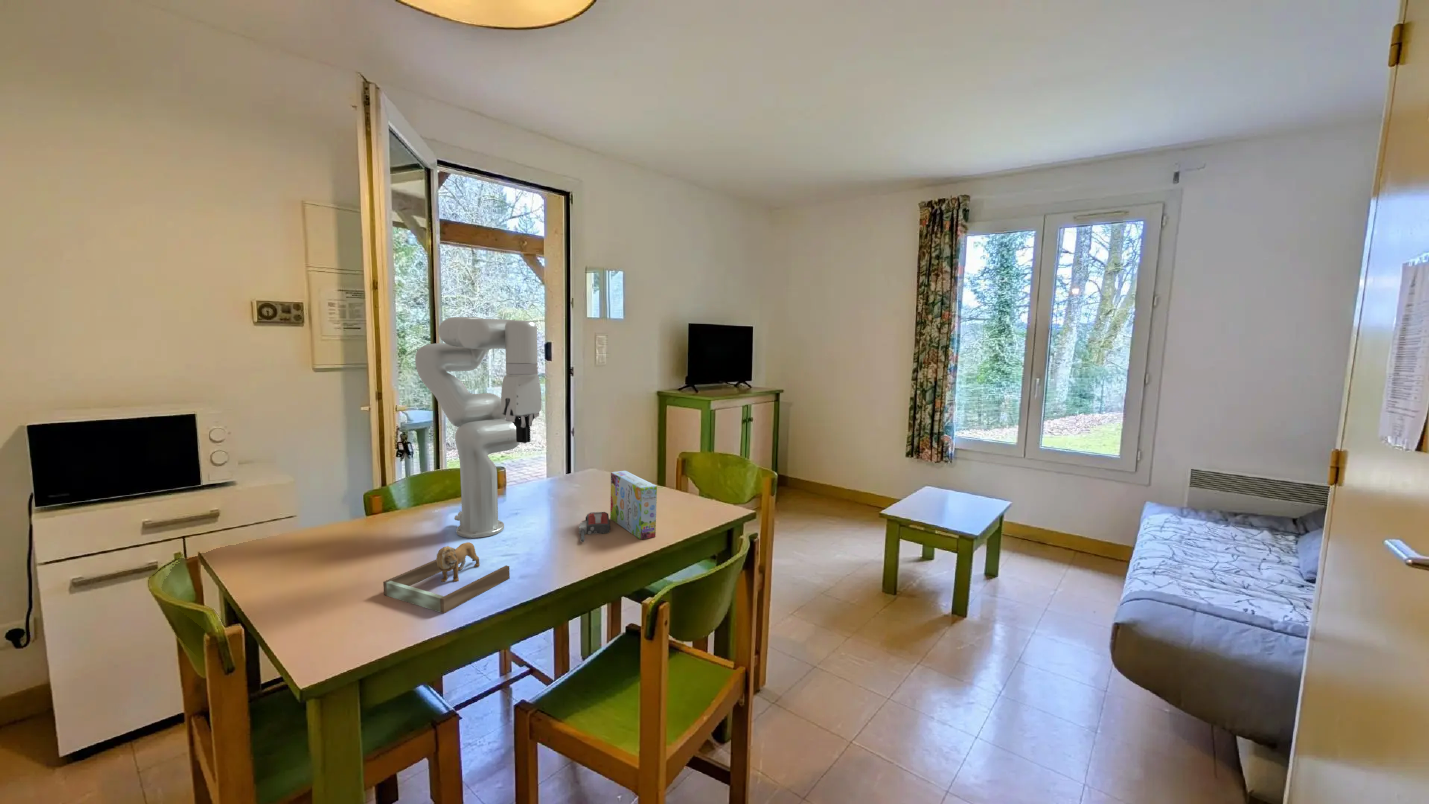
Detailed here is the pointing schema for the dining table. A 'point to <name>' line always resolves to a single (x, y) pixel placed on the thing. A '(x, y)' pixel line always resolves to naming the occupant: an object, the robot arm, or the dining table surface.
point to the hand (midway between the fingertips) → (523, 441)
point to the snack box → (633, 504)
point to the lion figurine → (455, 559)
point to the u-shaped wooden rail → (403, 591)
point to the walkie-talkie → (595, 524)
